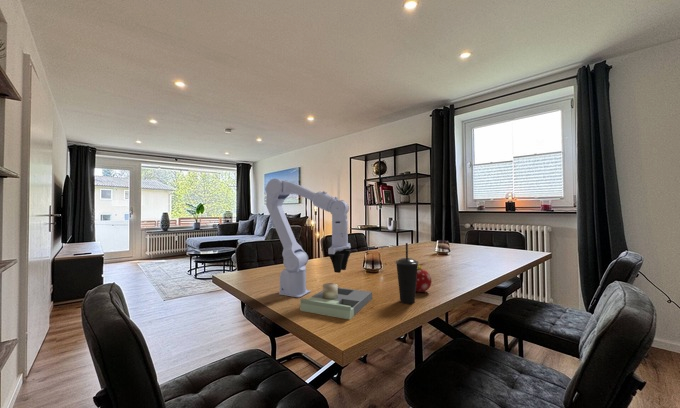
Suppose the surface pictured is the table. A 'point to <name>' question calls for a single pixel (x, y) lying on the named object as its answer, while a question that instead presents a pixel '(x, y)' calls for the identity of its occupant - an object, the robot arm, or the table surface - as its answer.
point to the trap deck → (337, 303)
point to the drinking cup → (407, 278)
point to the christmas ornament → (422, 280)
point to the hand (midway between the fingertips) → (340, 271)
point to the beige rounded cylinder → (330, 291)
